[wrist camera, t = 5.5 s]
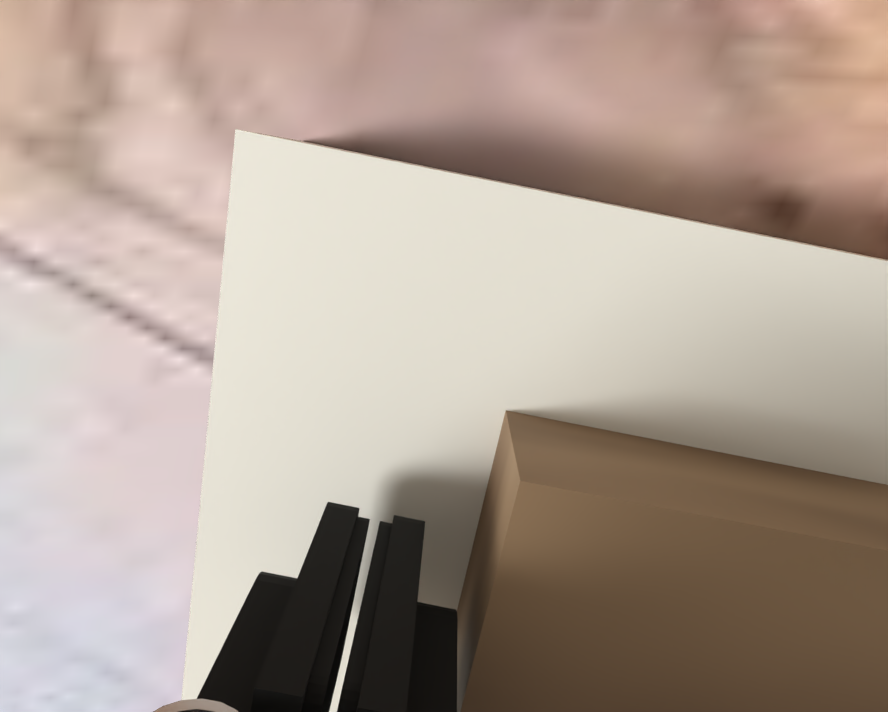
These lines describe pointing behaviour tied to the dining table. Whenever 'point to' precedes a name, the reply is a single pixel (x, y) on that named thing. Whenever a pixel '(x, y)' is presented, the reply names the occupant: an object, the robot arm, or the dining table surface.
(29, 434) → the dining table surface
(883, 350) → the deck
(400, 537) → the robot arm
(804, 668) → the block
